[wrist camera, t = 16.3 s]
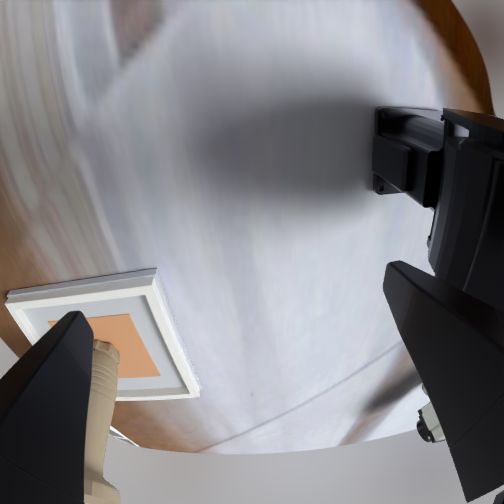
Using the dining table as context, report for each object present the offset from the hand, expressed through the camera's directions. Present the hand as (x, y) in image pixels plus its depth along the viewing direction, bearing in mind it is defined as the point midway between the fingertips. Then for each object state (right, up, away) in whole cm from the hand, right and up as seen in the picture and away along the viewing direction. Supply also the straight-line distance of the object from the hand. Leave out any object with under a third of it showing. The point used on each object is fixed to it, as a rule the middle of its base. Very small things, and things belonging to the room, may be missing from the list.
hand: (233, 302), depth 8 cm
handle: (-14, -8, +18) cm, 24 cm away
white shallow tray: (-14, -8, +18) cm, 24 cm away
